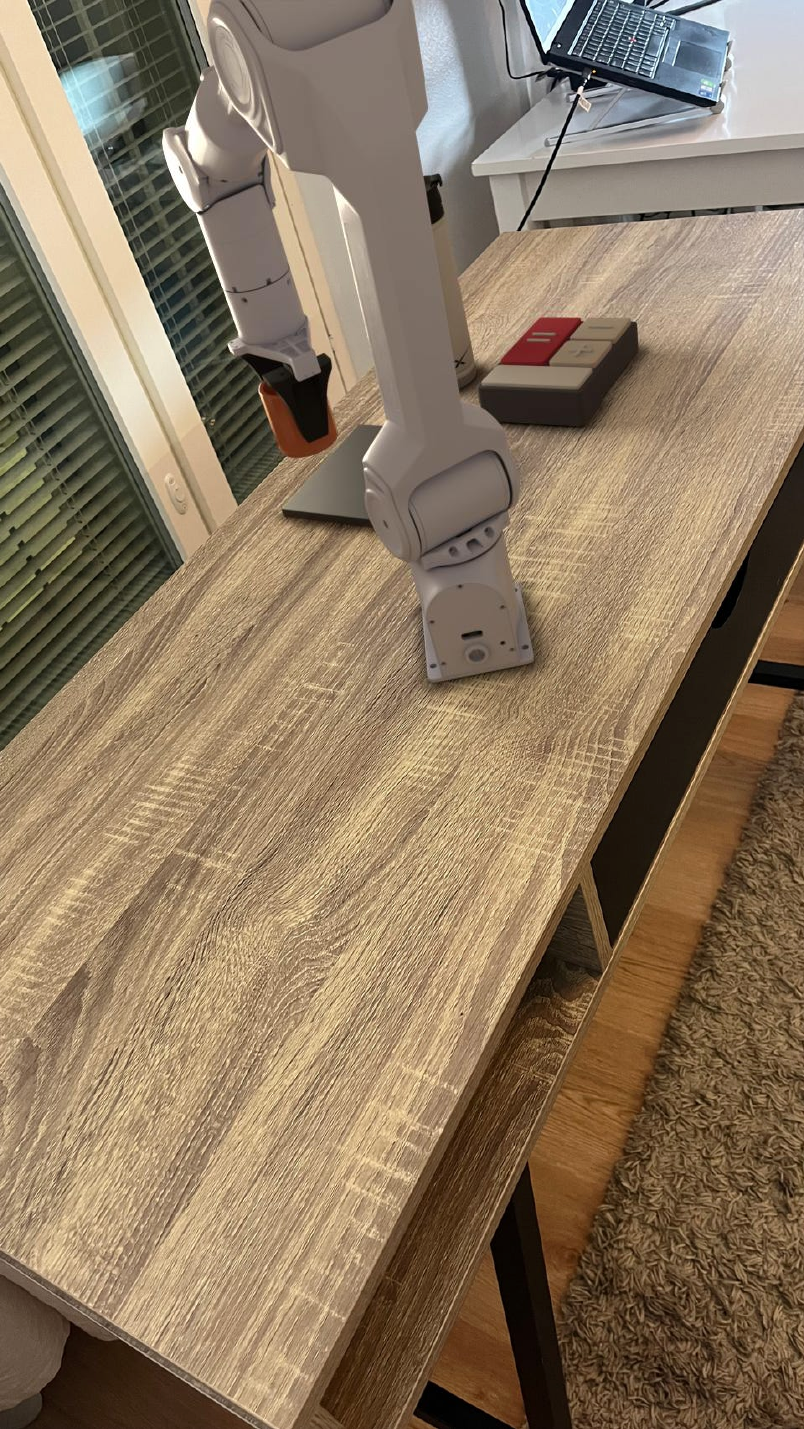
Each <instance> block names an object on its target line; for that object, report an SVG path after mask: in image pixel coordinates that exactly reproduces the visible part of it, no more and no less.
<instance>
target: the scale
mask: <svg viewBox="0 0 804 1429" xmlns="http://www.w3.org/2000/svg"><path fill="white" fill-rule="evenodd" d="M382 427H383V425H375V424H361V423H359V424H358V425H357V426H355V428H354V429H353V430H352V431H351V432H350V433H349V434H348V435H347V437H345V439H344V440H343V441H342V442H341V443H340V444H339V445H338V446H337V447H336V448H335V450H334V451H332V453H331V454H330V455H329V456H328V457H327V458H326V459H325V461H324V462H323V463H322V464H321V465H320V466H319V467H318V468H317V469H316V470H315V472H313V474H312V475H311V476H310V477H309V478H308V479H307V481H306V482H305V483H303V485H302V486H300V488H299V489H298V490H297V491H296V492H295V494H293V496H292V497H290V499H289V500H288V501H287V502H286V503H285V504H284V506H283V507H282V508H281V512H282V515H283V517H285V518H291V519H301V520H308V521H318V522H325V523H333V524H340V525H341V524H342V525H351V526H358V527H367V528H373V525H372V523H371V521H370V518H369V516H368V513H367V510H366V506H365V492H366V484H365V477H364V466H363V462H362V460H363V458H364V456H365V454H366V453H367V451H368V449H369V447H370V446H371V444H372V443H373V441H374V439H375V438H376V436H377V435H378V433H379V432H380V430H381V428H382Z"/></svg>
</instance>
